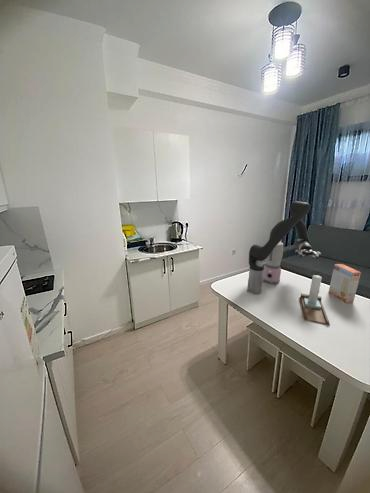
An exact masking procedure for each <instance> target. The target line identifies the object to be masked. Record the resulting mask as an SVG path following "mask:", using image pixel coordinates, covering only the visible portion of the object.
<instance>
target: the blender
mask: <svg viewBox="0 0 370 493" xmlns="http://www.w3.org/2000/svg"><path fill="white" fill-rule="evenodd" d="M283 253H284V243H283V242H282V241H280V242H279V243H278V244H277V245H276V247H275V248H274V249H273V251H272V252H271V253H270V255H269V256H268V257H267V258H266V259H265V265H264V272H263V282H264V283H266V282H267V283H271V285H276V284H278V283H280V280H281V273H282V269H281V262H282V258H283V255H284V254H283Z"/></svg>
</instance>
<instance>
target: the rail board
mask: <svg viewBox="0 0 370 493" xmlns="http://www.w3.org/2000/svg"><path fill="white" fill-rule="evenodd" d="M304 298H309V294H307V293H306V294H305V293H300V296H299V302H300V306H301V307H300V308H301V313H302V317H303V321H308V322H313V323H315V324H317V323H318V324H320V325H322V324H323V325H327V326H330V324H331V322H330V320H329V318H328V315H327V313H326V310H325V307H324V305H323V302H322V296H319V295H318V299H317V300H319V302H320V305H321V309H317V308H312V307H306V306H305V303H304Z"/></svg>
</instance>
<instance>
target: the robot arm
mask: <svg viewBox="0 0 370 493" xmlns="http://www.w3.org/2000/svg"><path fill="white" fill-rule="evenodd" d="M311 207H312V206H311V204H310V203H309V202H304V201H298V200H294V201H293V202H291V204H290V206H289V212H290V215H291V216H290V217H287V218H285V219H283V220H281V221H279V222H277V224H275V225H274V227H272V229H271V230H270V232H269V238H268V241H267V242H266V243H265V244H264V245H263V246H262V245H258V244H253V245H251V246H250V249H249V251H248V265H249V268H248V270H249V271H248V279H247V288H246V289H247V290H246V292H248V293H250V294H253V295H260V294H262V291H263V290H262V289H263V282H264V281H263V272H264V266H265V265H264V263H263V261H266V258H267V257H268V256H269V255H270V253H271V252H272V251H273V249H274V248H275V247H276V245H277V244H278V243H279V242H282V240H283V239H284V238H285V237H286V236H287V235H288V234H289V233H290V231H291V230H292V229H294V228H295V231H296V232H295V233H296V234H295V235H296V237H297V239H296V240H295V241H294V245H295V247H296V248H295V251H294V254H295V256H298V257H299V258H303V257H311V258H315V260H318V259H321V257H322V253H321V252H320V251H318V250H317V251H314V250H313V249H314V248H313V247H312V245H311V244H312V241H311V239H310V237H309V235H308V227H307V225H306V223H305V222H304V221H303V219H305V217H306V216H307V215H308V214H309V213H310V210H311V209H312V208H311Z"/></svg>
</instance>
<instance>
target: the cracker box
mask: <svg viewBox="0 0 370 493" xmlns="http://www.w3.org/2000/svg"><path fill="white" fill-rule="evenodd" d="M361 275H362V272H361V271H360V270H357V269H355V268H352V267H350V266H348V265H345V264H343V263H335V264H334V266H333V270H332V275H331V279H330V284H329V287H328V293H329V294H331V295H333V296H334V297H335V298H337V299H338V300H340V301H342V302H343V303H345V304H348V303H351V304H352V303H354V301H355V298H356V293H357V290H358V286H359V282H360V278H361Z"/></svg>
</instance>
